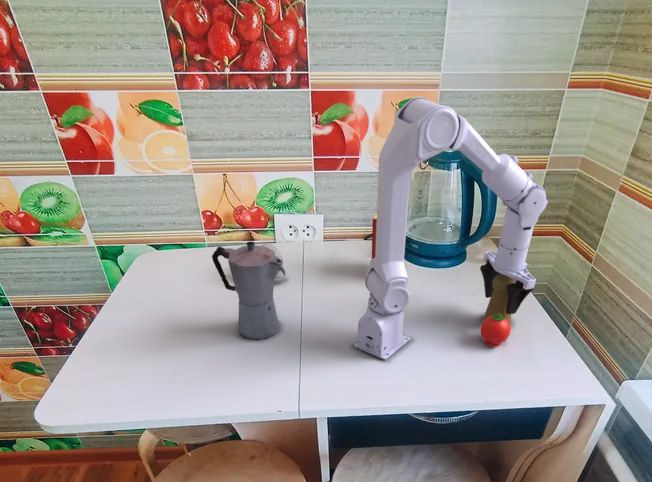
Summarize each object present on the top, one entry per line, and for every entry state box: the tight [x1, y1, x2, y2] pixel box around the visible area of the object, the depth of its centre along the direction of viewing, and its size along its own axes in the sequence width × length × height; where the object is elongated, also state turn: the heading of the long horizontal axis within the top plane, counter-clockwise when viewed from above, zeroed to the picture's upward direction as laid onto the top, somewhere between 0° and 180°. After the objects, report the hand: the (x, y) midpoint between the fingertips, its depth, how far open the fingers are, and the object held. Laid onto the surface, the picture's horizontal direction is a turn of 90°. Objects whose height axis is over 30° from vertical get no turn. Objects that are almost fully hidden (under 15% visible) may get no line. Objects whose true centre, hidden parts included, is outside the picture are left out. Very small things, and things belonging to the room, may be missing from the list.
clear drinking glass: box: [260, 242, 287, 285], centre depth 118 cm, size 11×8×8 cm
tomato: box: [479, 313, 512, 348], centre depth 95 cm, size 6×6×7 cm
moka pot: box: [211, 241, 284, 340], centre depth 95 cm, size 10×15×20 cm, turn 78°
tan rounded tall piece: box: [482, 274, 516, 325], centre depth 100 cm, size 6×6×11 cm
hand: (500, 304), depth 101 cm, fingers open, 7 cm apart
